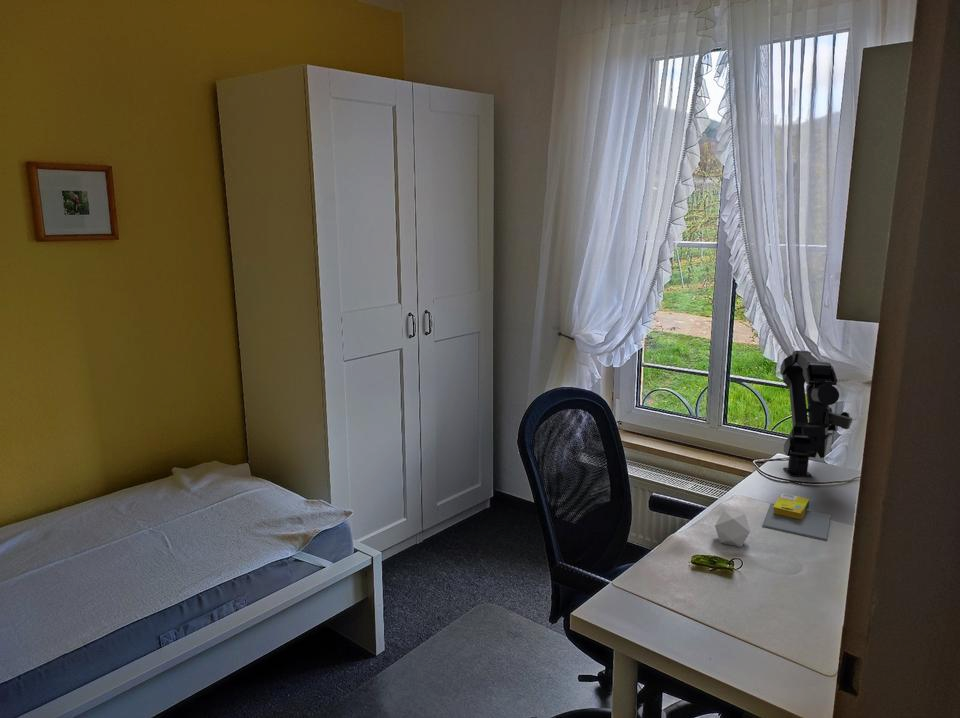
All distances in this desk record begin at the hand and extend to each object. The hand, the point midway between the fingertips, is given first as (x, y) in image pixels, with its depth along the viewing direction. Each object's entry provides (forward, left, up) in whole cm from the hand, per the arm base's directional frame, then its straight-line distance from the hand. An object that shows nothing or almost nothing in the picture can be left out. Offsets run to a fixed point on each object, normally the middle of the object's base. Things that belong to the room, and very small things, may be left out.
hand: (822, 457), depth 203 cm
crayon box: (+10, -12, -9) cm, 18 cm away
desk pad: (+20, -15, -11) cm, 28 cm away
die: (+32, -37, -11) cm, 51 cm away
